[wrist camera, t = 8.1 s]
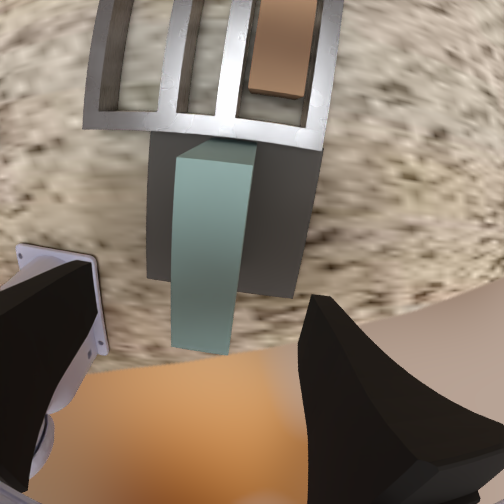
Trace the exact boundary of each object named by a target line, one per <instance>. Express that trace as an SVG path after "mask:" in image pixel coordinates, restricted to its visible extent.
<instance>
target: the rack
mask: <svg viewBox="0 0 504 504" xmlns="http://www.w3.org/2000/svg"><path fill="white" fill-rule="evenodd" d="M203 3H204V0H174V3H173V8H172V13H171V18H170V24H169V29H168V35H167V41H166V48H165V54H164V61H163V68H162V76H161V83H160V92H159V101H158V110H157V111H127V110H117V107H118V96H119V87H120V78H121V70H122V63H123V55H124V49H125V43H126V37H127V31H128V25H129V20H130V15H131V10H132V5H133V0H100V1H99V6H98V10H97V15H96V20H95V25H94V30H93V36H92V42H91V48H90V55H89V62H88V70H87V78H86V87H85V98H84V110H83V127H82V129H106V130H143V131H162V132H178V133H191V134H202V135H212V136H222V137H231V138H239V139H247V140H255V141H262V142H269V143H276V144H283V145H289V146H295V147H301V148H307V149H312V150H318V151H322V147H323V142H324V136H325V130H326V124H327V118H328V112H329V106H330V99H331V93H332V86H333V80H334V73H335V66H336V59H337V52H338V44H339V36H340V28H341V20H342V12H343V3H344V0H318V5H317V13H316V21H315V28H314V35H313V42H312V50H311V57H310V64H309V70H308V77H307V84H306V91H305V97H304V104H303V110H302V116H301V123H300V126H295V125H289V124H282V123H276V122H269V121H262V120H255V119H247V118H239V111H240V104H241V97H242V90H243V83H244V76H245V69H246V62H247V55H248V49H249V42H250V36H251V29H252V23H253V17H254V10H255V4H256V0H232V4H231V10H230V16H229V22H228V28H227V34H226V40H225V47H224V53H223V60H222V67H221V74H220V81H219V88H218V96H217V103H216V111H215V115H209V114H197V113H187V109H188V101H189V93H190V85H191V77H192V70H193V63H194V56H195V50H196V43H197V37H198V31H199V25H200V19H201V14H202V8H203Z"/></svg>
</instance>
